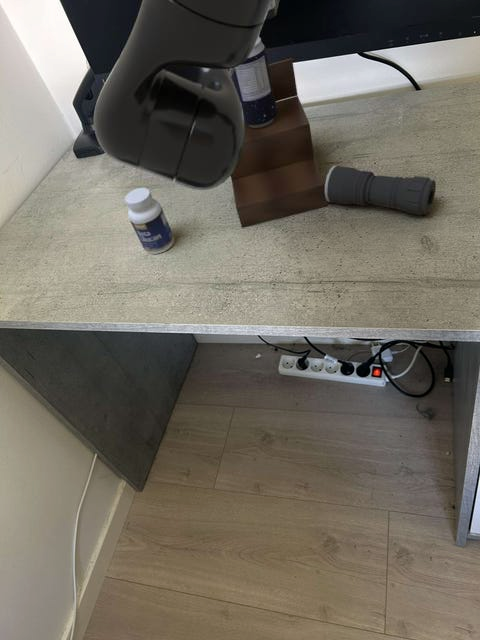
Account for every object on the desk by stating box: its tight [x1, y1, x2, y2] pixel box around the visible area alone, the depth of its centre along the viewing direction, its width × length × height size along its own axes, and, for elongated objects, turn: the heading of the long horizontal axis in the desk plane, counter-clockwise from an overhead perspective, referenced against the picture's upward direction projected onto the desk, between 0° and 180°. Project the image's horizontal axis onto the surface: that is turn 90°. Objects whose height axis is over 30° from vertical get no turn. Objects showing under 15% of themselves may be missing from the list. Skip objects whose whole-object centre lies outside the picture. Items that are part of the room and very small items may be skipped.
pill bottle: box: [124, 187, 175, 255], centre depth 78 cm, size 5×5×10 cm
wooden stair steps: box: [230, 57, 328, 228], centre depth 79 cm, size 14×19×16 cm
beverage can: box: [232, 36, 277, 128], centre depth 75 cm, size 6×6×12 cm
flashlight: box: [324, 165, 437, 216], centre depth 72 cm, size 15×5×5 cm, turn 59°
